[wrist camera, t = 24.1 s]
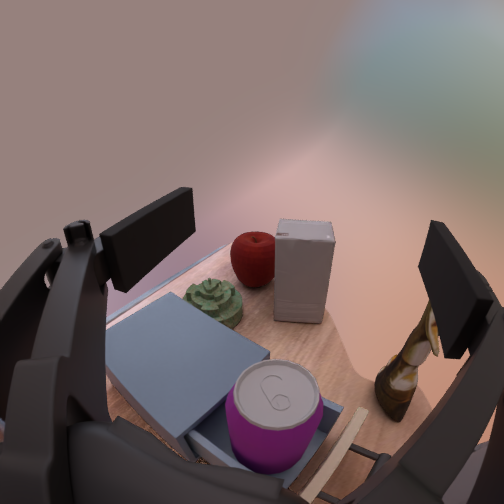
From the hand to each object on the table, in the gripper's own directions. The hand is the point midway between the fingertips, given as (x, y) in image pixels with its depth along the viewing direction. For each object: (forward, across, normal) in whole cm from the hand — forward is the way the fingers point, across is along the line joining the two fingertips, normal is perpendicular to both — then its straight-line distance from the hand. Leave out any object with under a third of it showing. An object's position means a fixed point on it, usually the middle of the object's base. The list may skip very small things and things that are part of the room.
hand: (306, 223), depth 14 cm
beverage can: (-2, 0, -24) cm, 24 cm away
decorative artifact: (+18, -16, -26) cm, 35 cm away
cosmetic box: (+23, -2, -26) cm, 35 cm away
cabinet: (+2, -13, -26) cm, 29 cm away
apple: (+29, -12, -26) cm, 41 cm away
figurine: (+8, +14, -26) cm, 30 cm away
